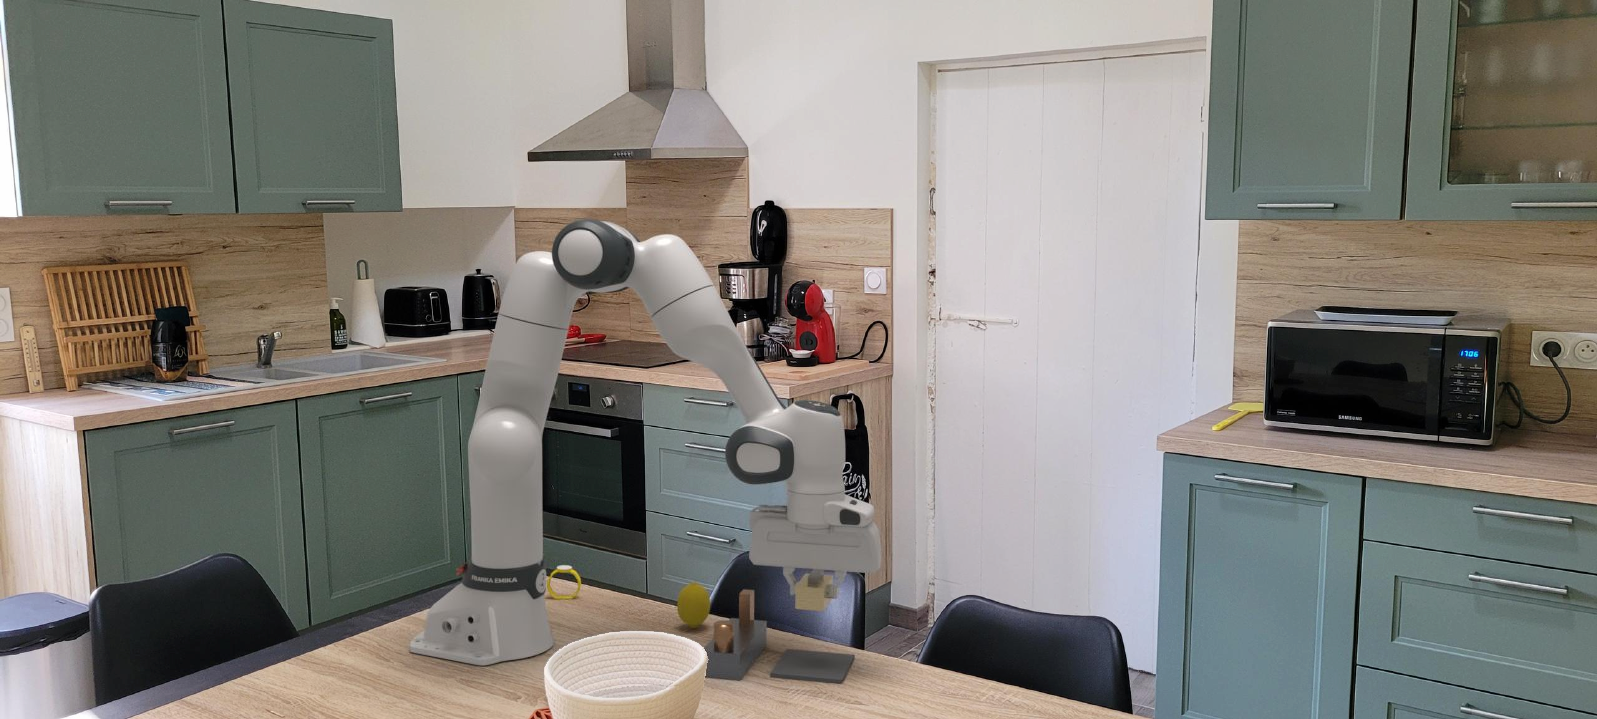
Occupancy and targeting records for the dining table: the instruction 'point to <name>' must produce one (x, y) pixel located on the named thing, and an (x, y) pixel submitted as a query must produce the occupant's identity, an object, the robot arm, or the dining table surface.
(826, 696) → the dining table surface
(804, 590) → the lever cap
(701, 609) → the lemon
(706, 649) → the plane body
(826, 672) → the rubber mat
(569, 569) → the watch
